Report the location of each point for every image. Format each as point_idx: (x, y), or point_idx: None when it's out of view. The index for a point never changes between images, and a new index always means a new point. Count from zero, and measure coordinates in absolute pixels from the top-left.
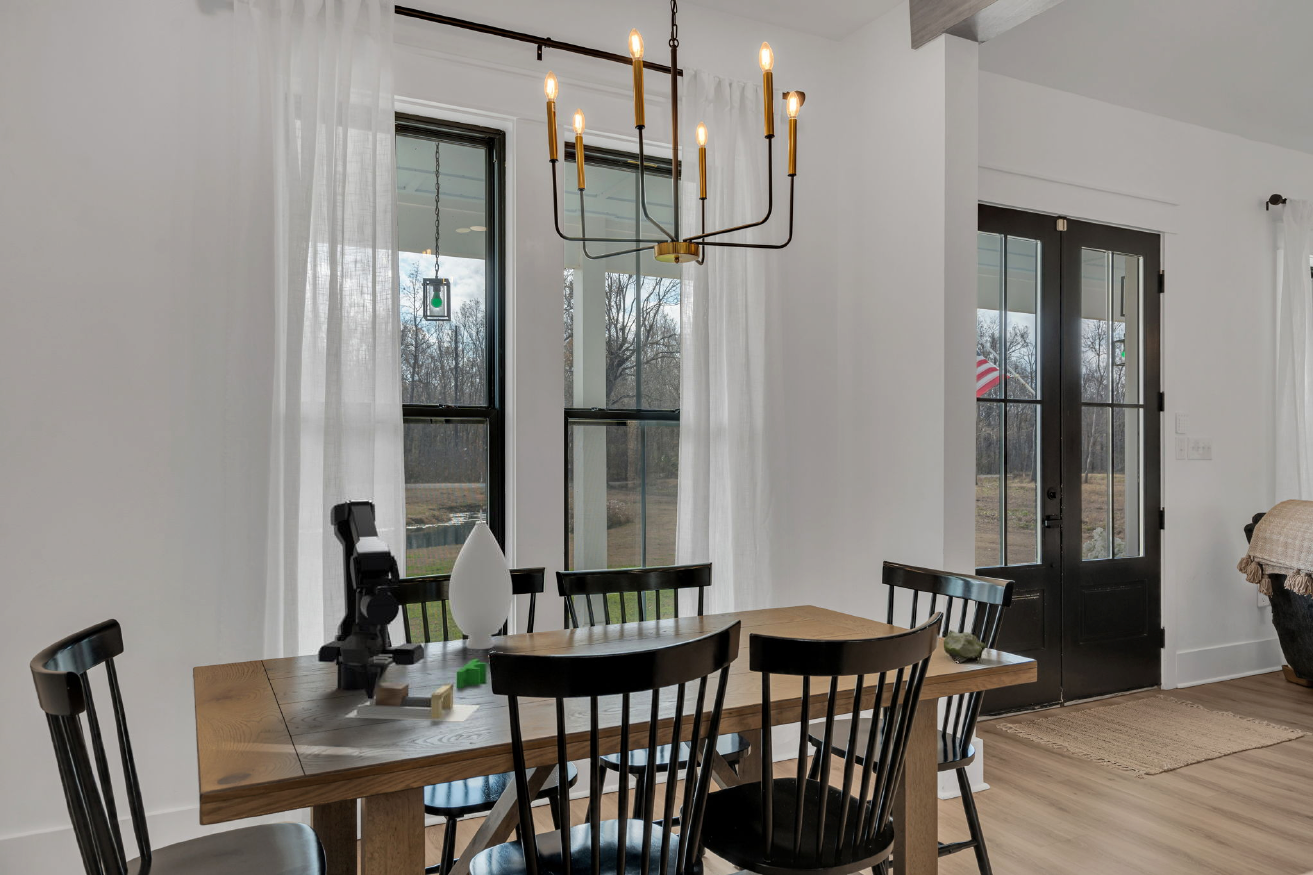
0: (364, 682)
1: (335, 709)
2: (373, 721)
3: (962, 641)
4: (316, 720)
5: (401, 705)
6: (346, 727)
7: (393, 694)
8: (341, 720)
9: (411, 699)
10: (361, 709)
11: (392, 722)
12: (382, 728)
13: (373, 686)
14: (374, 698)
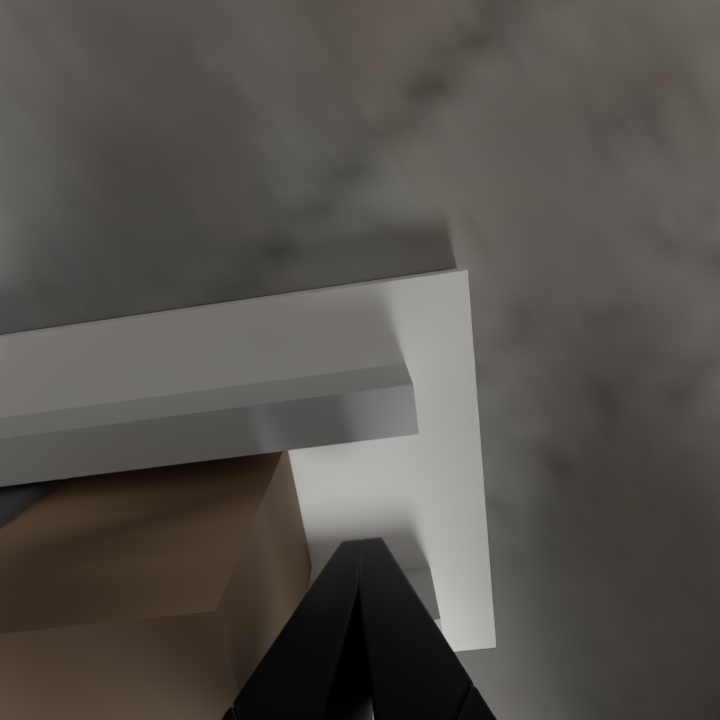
0: (428, 689)
1: (680, 516)
2: None
3: None
4: (708, 255)
5: (17, 496)
6: (369, 157)
7: (24, 571)
8: (507, 308)
9: None
10: (365, 382)
11: None
12: (81, 216)
13: (282, 648)
14: None
